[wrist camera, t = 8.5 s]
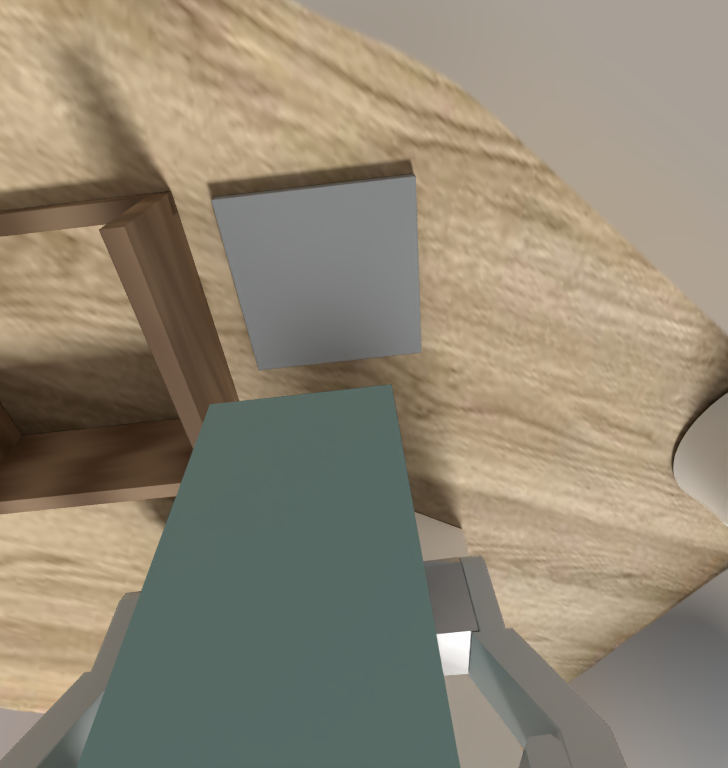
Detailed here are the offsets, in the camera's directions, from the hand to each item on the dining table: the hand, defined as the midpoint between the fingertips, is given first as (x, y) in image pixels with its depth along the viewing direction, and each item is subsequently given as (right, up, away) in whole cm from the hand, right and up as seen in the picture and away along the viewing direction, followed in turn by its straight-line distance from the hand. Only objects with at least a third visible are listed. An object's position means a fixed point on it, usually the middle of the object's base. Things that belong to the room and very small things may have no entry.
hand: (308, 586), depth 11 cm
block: (0, +2, +3) cm, 4 cm away
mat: (-1, +10, +15) cm, 18 cm away
